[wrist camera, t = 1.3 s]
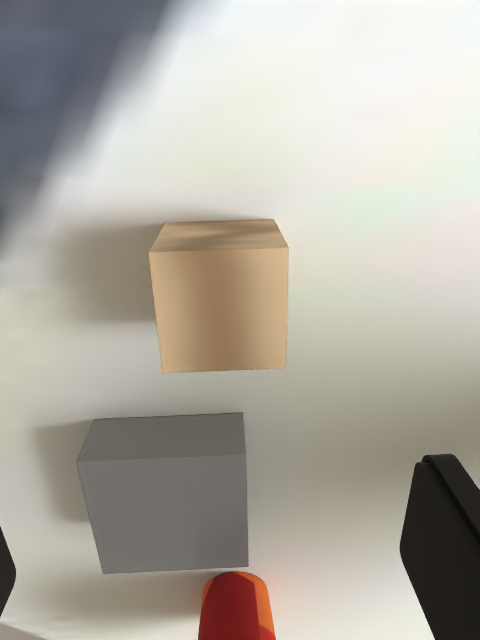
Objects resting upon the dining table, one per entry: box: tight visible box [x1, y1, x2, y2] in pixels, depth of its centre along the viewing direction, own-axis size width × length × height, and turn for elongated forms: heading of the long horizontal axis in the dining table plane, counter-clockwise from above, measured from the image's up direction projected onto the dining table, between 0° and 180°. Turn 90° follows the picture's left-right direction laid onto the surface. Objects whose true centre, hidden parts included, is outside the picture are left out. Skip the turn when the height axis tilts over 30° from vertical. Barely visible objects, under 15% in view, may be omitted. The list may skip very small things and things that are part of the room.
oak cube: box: [148, 219, 289, 373], centre depth 22 cm, size 6×6×6 cm
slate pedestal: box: [76, 413, 248, 574], centre depth 29 cm, size 10×10×4 cm
